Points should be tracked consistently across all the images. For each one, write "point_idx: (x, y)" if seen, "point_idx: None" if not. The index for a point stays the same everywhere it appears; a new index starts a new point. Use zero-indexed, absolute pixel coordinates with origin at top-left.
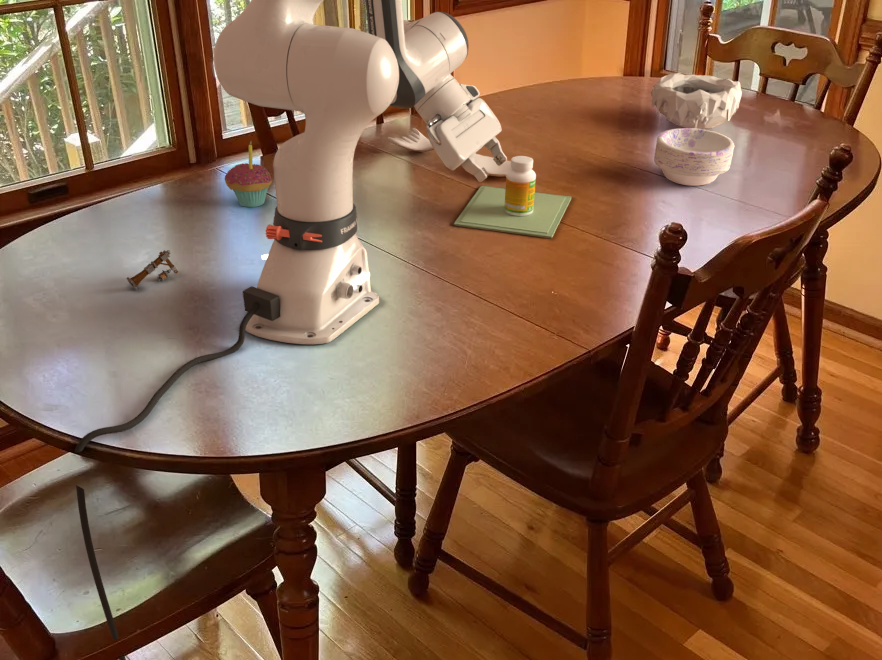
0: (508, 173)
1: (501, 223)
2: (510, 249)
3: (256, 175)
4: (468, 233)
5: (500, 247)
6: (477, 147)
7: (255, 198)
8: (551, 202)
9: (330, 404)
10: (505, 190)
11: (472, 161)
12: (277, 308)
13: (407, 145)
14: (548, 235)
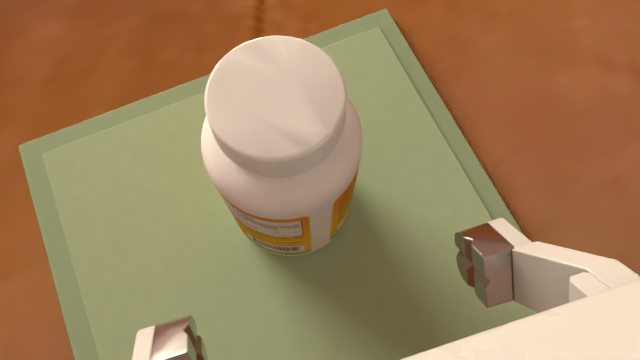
0: (344, 171)
1: (434, 177)
2: (546, 54)
3: None
4: (573, 229)
5: (562, 83)
6: (519, 325)
7: None
8: (128, 161)
9: None
10: (335, 218)
11: (615, 268)
12: None
13: None
14: (387, 18)
